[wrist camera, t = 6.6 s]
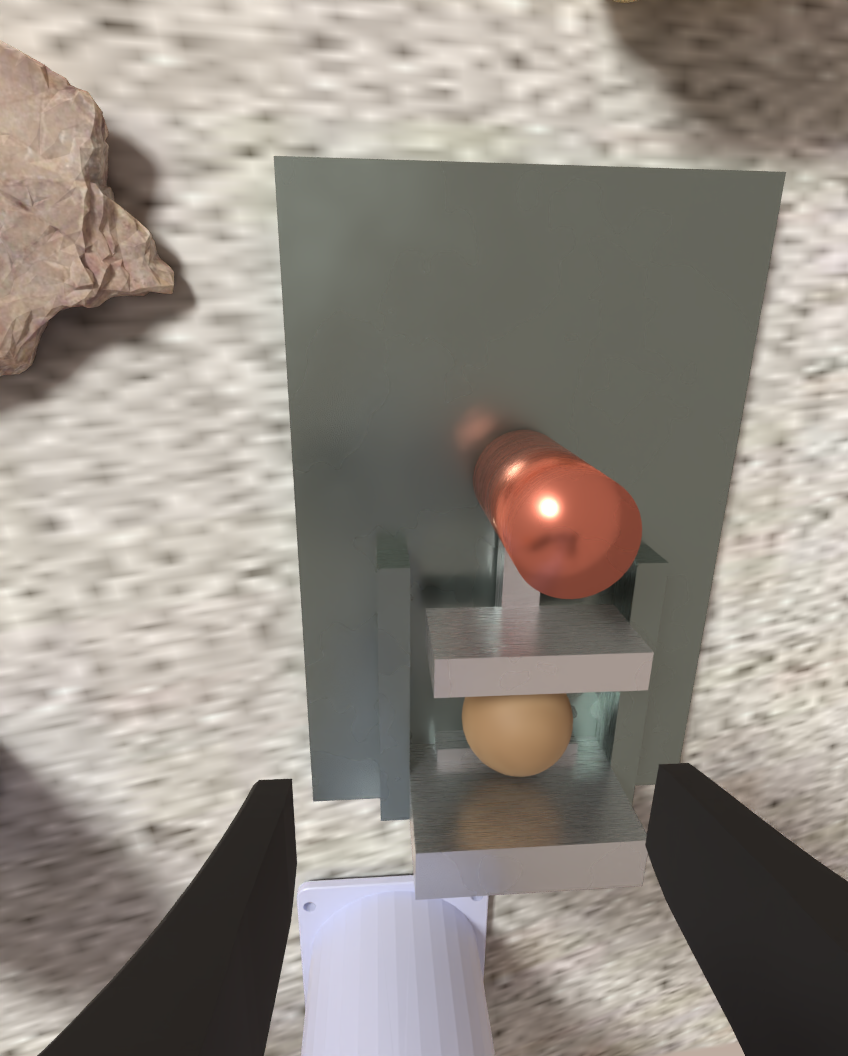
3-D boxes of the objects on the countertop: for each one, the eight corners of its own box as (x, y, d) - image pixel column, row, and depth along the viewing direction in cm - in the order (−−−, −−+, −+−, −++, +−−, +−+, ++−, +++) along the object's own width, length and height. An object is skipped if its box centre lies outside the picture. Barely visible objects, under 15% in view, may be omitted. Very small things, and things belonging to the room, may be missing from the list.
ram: (597, 628, 21) (672, 730, 15) (422, 633, 20) (439, 740, 15) (620, 429, 18) (715, 472, 13) (425, 430, 18) (445, 474, 13)
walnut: (550, 726, 22) (582, 799, 19) (453, 730, 22) (468, 805, 19) (558, 640, 21) (594, 701, 18) (456, 642, 21) (472, 706, 17)
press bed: (661, 762, 25) (747, 893, 19) (316, 778, 24) (298, 922, 18) (759, 181, 18) (937, 117, 12) (280, 167, 17) (232, 89, 11)
